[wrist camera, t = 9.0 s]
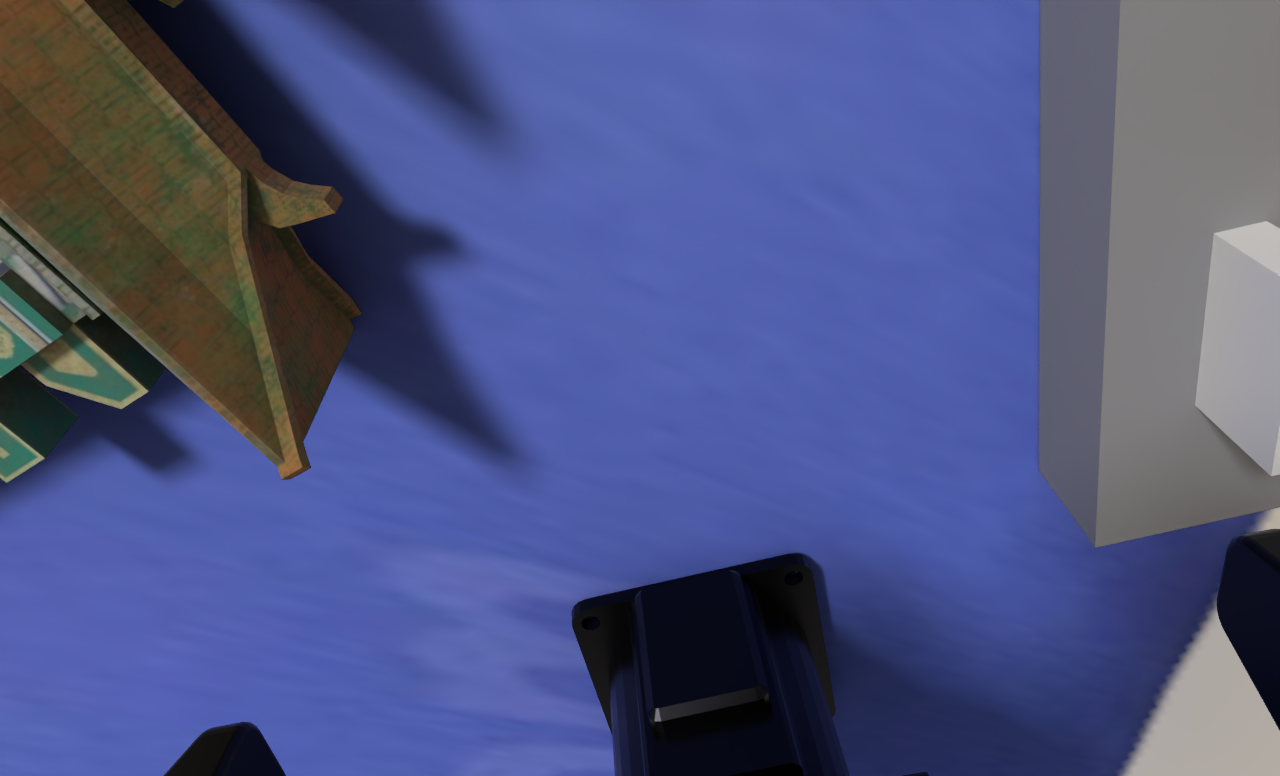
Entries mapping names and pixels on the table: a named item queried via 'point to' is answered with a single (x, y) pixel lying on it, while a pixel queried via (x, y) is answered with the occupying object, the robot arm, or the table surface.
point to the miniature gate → (147, 241)
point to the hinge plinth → (1159, 262)
